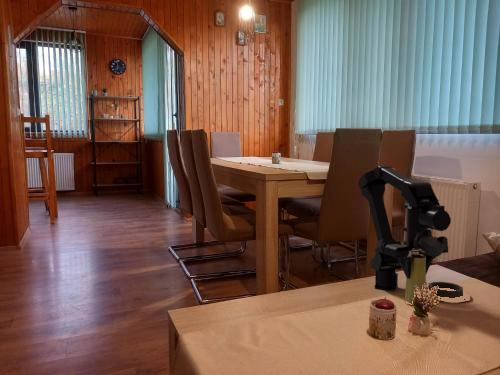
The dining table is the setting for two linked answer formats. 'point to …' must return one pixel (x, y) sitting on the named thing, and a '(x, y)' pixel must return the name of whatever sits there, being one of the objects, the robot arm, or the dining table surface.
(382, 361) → the dining table surface
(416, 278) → the vase
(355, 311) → the dining table surface
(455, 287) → the stand
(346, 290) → the dining table surface
